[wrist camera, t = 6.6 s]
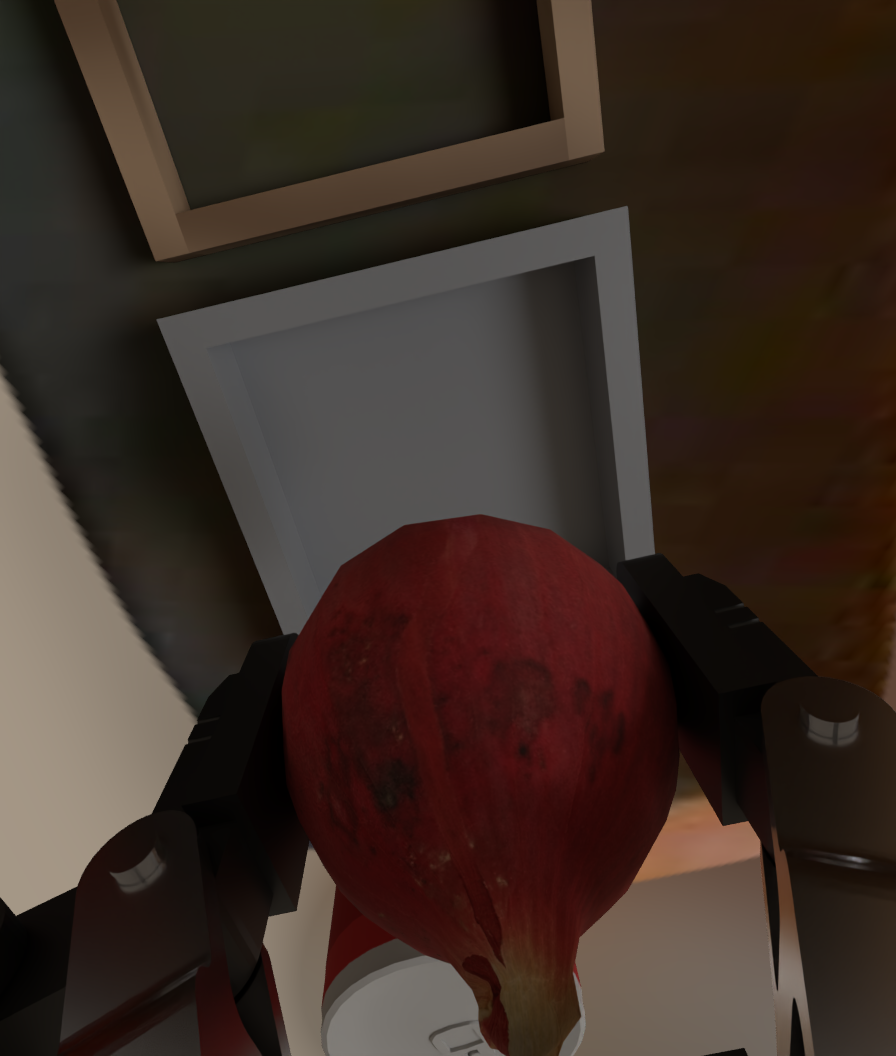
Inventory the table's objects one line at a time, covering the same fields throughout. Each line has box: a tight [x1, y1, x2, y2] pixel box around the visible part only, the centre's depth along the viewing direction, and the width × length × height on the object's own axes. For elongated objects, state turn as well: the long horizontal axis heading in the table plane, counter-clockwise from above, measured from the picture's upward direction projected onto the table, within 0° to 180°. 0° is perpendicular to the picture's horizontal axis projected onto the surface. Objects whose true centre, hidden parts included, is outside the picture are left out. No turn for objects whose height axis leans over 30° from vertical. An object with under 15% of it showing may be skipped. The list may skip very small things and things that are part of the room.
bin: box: [156, 206, 655, 635], centre depth 19 cm, size 13×13×3 cm
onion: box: [282, 514, 679, 1056], centre depth 9 cm, size 6×6×8 cm
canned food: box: [321, 885, 586, 1056], centre depth 21 cm, size 8×8×11 cm
